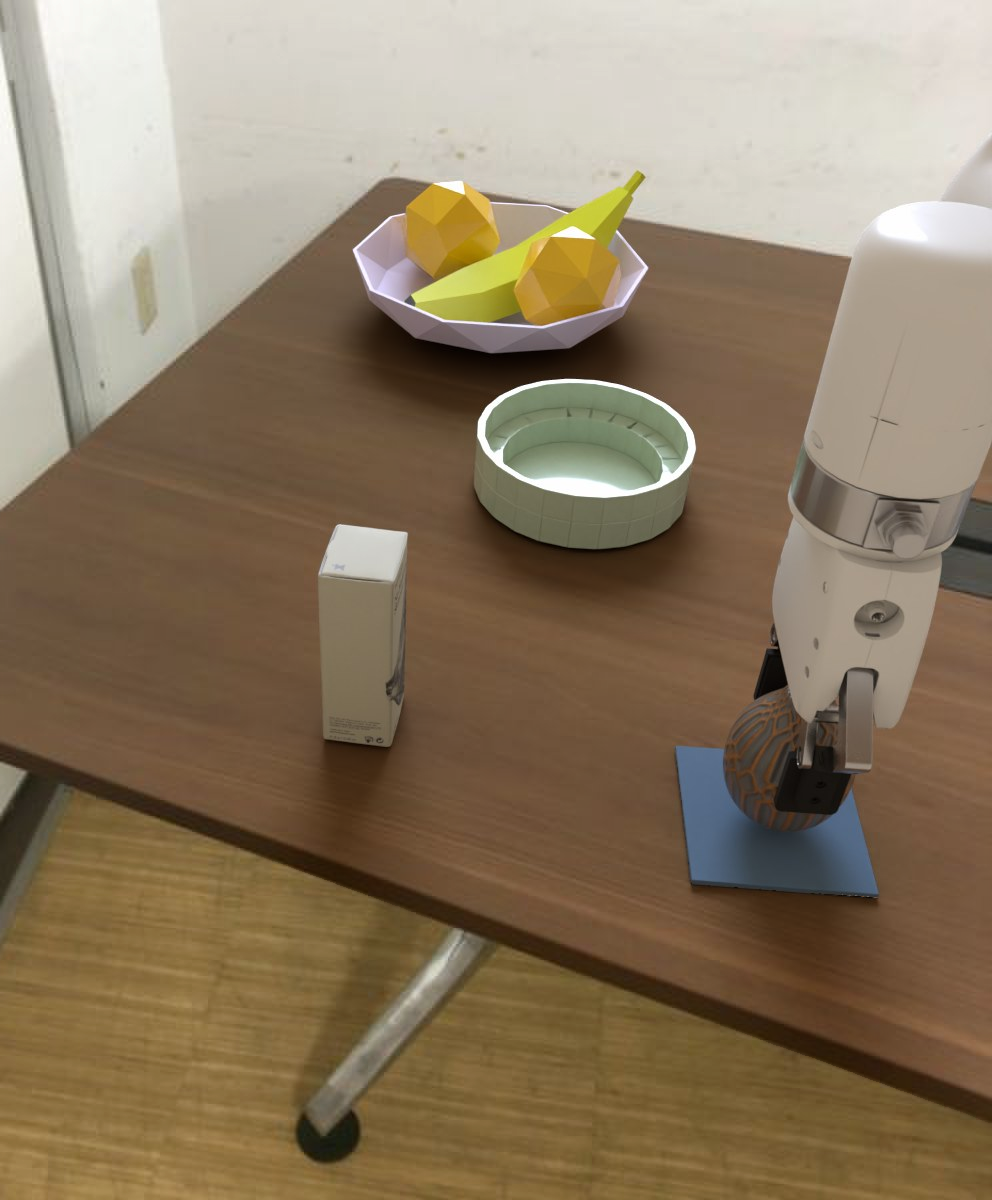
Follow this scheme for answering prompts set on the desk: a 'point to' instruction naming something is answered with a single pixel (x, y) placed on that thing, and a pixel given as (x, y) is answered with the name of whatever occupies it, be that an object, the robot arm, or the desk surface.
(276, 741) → the desk surface
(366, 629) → the box
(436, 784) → the desk surface
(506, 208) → the fruit bowl
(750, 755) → the vase
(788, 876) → the mat
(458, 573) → the desk surface
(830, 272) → the desk surface
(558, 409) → the bowl
